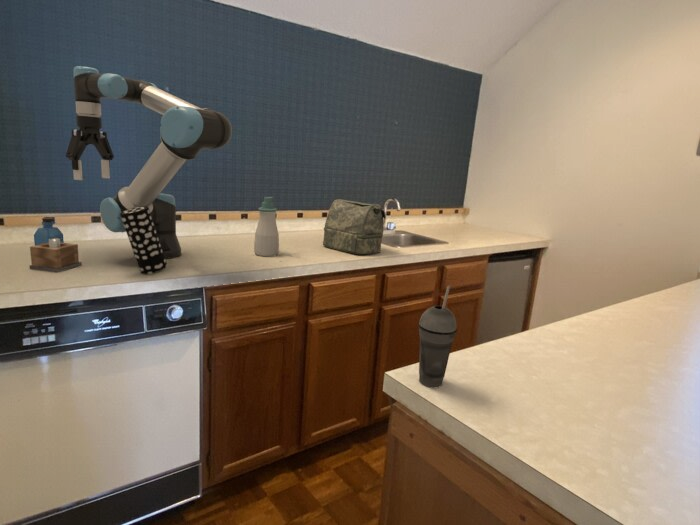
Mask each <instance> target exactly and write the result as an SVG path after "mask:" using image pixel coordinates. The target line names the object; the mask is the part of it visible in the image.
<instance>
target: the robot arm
mask: <svg viewBox="0 0 700 525" xmlns="http://www.w3.org/2000/svg"><path fill="white" fill-rule="evenodd" d="M72 79H73V90H74V99H75V113H76V114H77V116H76V117H75V119H76V126H77V127H78V128H79V129H71V136H70V140H69V143H68V145H67V146H68V147H67V149H66V150H67V151H66V154H65V157H66V158H67V159H68V160H71V169H72V171H73V180H74V181H75V180H76V181H83V168H82V167H83V166H82V165H83V164H82V160H80V158H81V157H82V156H83V153H84V151H85V149H86V148H87V146H88V145H93V146H94V148H96V151H98V154H99V155H100V157H101V158H102V159H100V167H101V179H110V178H111V173H110V172H111V170H110V169H111V163H110V161H113V159H114V158H115V156H114V152H113V151H112V148H111V145H110V142H109V140H108V134H107V131H101V130H100V129H103V124H102V123H103V121H102V120H103V119H102V118H101V117H102V103H101V99H110V100H111V99H112V100H117V101H118V100H119V101H122V102H123V101H125V102H129V103H130V102H131V103H136V104H140V105H141V106H144V107H146V108H147V109H150V110H152V111H154V112H156V113H158V114H160V115H162V116H161V120H160V122H159V123H160V125H161V126H160V127H159V133H160V137H159V138H160V141H161V143H159V145H158V146H157V148H156V149H155V150H154V152H153V153H152V154H151V156H150V157H149V159H148V160H147V161H146V162H145V164H144V165H143V167H142V168H141V169H140V171H139V172H138V173H137V175H136V177H135V178H134V179H133V180H132V182H131V183H130V184H129V186H123V187H122V188H121V189H119V191H118V192H117V193H116V195H115V196H113V197H109V196H108V197H106V198H103V199H102V201H101V202H100V205H99V206H100V207H99V213H100V218H101V221H102V223H103V224H104V226H105V227H106V229H107V230H109V231H110V232H113V233H126V230H125V227H124V224H123V221H122V219H121V216H120V212H122V211H124V210H127V209H130V208H134V207H139V206H148V208H149V211H150V214H151V217H152V220H153V223H154V226H155V229H156V232H157V235H158V238H159V241H160V244H161V247H162V250H163V253H164V256H165V259H172V258H177V257H179V256H181V255H182V247H181V243H180V242H179V239H178V236H177V224H176V223H177V218H176V217H177V215H176V214H177V213H176V212H177V211H176V210H177V205H176V198H175V196H174V195H173V194H168V193H162V191H163V190H164V189H165V187H166V186H167V185H168V184H169V182H170V181H171V180H172V179H173V177H174V176H175V175H176V174H177V172H178V171H179V169H181V167H182V166H183V165H184V163H186V161H193V160H194V159H195V158H196V157H197V155H199V153H200V152H201V151H202V150H217V149H221V148H223V147H225V146H226V145H228V143H229V142H230V140H231V138H232V135H233V128H232V124H231V122H230V120H229V119H228V117H227V116H225V115H224V114H223V113H221V112H219V111H215V110H213V109H211V108H207V107H204V108H201V107H199V106H197V105H196V104H192V103H190V102H188V101H186V100H183V99H182V98H180V97H178V96H175V95H174V94H172V93H169V92H167V91H164V90H162V89H160V88H159V87H157V85H156V84H155V83H152V82H149V81H146V80H140V79H134V78H129V77H125V76H121V75H119V74H116V73H110V72H108V73H100V72H99V70H98V69H97V68H94V67H89V66H81V65H79V66H78V65H77V66H74V67H73V78H72Z"/></svg>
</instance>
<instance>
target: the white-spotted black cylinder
mask: <svg viewBox="0 0 700 525" xmlns="http://www.w3.org/2000/svg"><path fill="white" fill-rule="evenodd" d="M120 216H121V219H122V221H123V224H124V227H125V230H126V232H125V233H126V235H127V238H128V241H129V243H130V248H131V249H132V252H133V255H134V257H135V260H136V263H137V266H138V268H139V272H140V274H142V275H151V274H155V273H158V272H159V273H160V272H161V271H163V270H164V269H166V268H168V262H167V258H165V256H164V253H163V250H162V247H161V244H160V241H159V238H158V235H157V232H156V229H155V226H154V223H153V220H152V217H151V214H150V211H149V208H148V206H139V207H134V208H130V209H127V210H124V211H122V212H120Z"/></svg>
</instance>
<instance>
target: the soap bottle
mask: <svg viewBox="0 0 700 525" xmlns="http://www.w3.org/2000/svg"><path fill="white" fill-rule="evenodd" d="M273 199H275V196H264V197H263V201H262V202H261V206H260V207H258V208H257V209H258V211H259V212H258V214H259V215H258V222H257V225H256V230H255V233H254V241H253V245H254V246H253V247H254V248H253V249H254V250H253V252H254V254H255V255H256V256H260V257H274V256H277V255H278V254H279V252H280V243H279V241H280V238H279V234H280V233H279V230H278V225H277V217H276V216H277V211H278V209H277V208H276V207H275V206H274V205H275V204H274V202H272V201H273Z"/></svg>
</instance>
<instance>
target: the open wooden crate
mask: <svg viewBox="0 0 700 525" xmlns="http://www.w3.org/2000/svg"><path fill="white" fill-rule="evenodd" d="M29 250H30V261H31V265H33V266H41V267H49V268H57V269H58V268H61V267H64V266H68V265H71V264H74V263H78V262H80V259H79V245H78V243H71V242H70V243H68V242H64V243H62V242H60V247H57V248H51V247H49V243H44V244H40V245H35V244H34V245H32V246H31V245H30V246H29Z"/></svg>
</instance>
